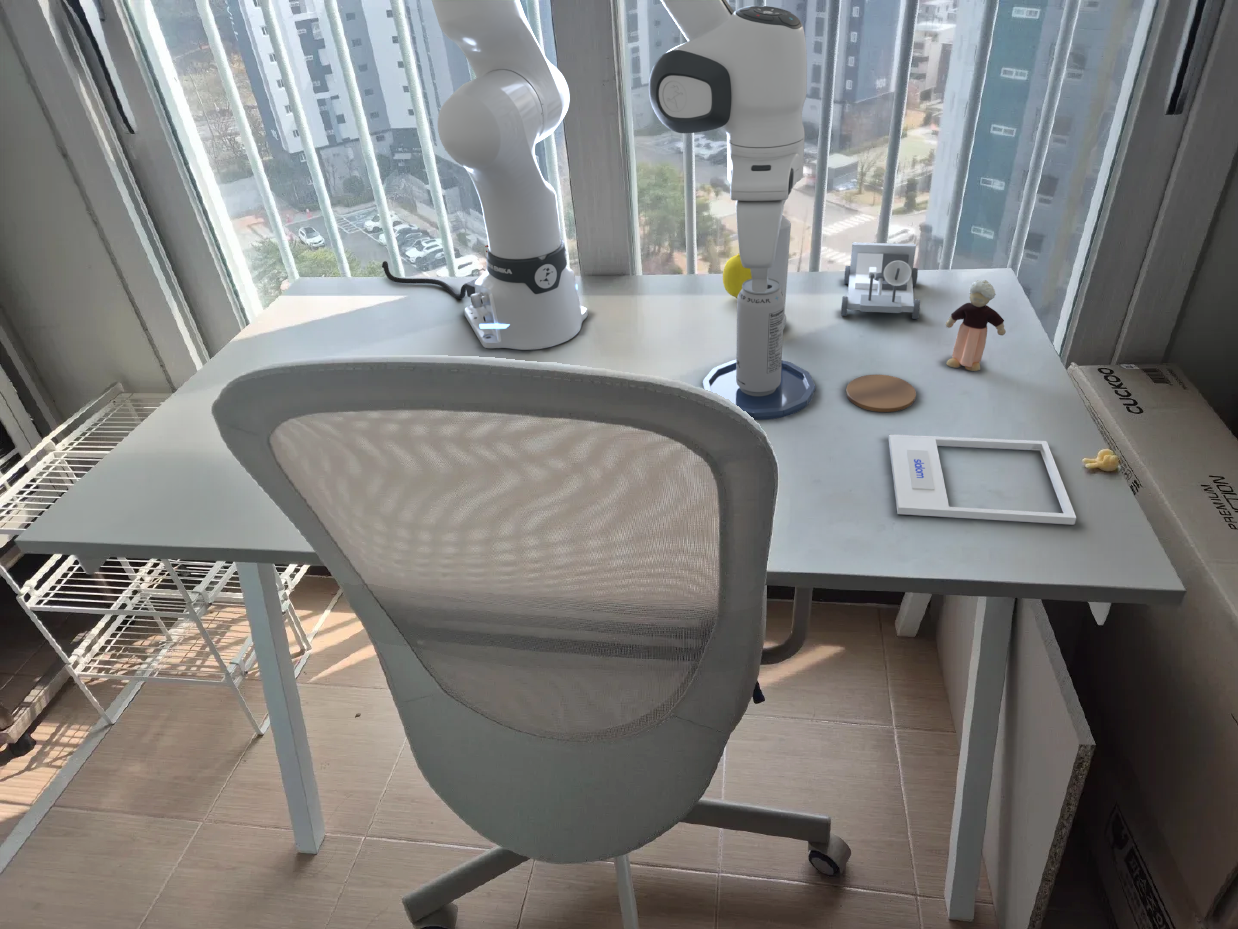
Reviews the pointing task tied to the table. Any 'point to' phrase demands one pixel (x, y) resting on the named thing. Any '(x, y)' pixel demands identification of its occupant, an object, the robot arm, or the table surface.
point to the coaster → (881, 393)
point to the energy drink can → (759, 338)
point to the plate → (778, 404)
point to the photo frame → (926, 489)
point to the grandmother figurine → (974, 326)
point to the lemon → (735, 275)
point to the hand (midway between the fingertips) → (763, 274)
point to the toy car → (881, 279)
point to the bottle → (781, 258)
